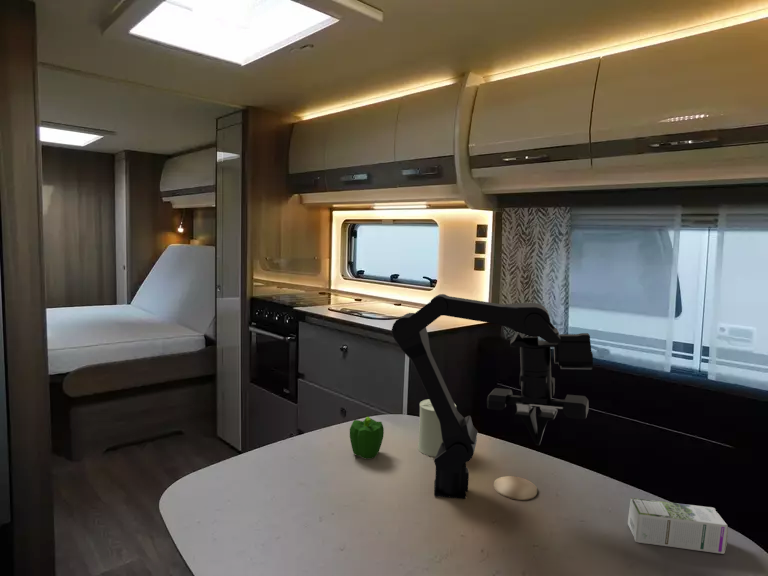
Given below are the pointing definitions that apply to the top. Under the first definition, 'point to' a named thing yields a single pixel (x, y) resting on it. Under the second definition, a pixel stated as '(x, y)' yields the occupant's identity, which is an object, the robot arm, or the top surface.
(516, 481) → the cork coaster
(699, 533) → the syrup box
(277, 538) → the top surface
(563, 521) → the top surface
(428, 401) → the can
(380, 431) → the bell pepper
